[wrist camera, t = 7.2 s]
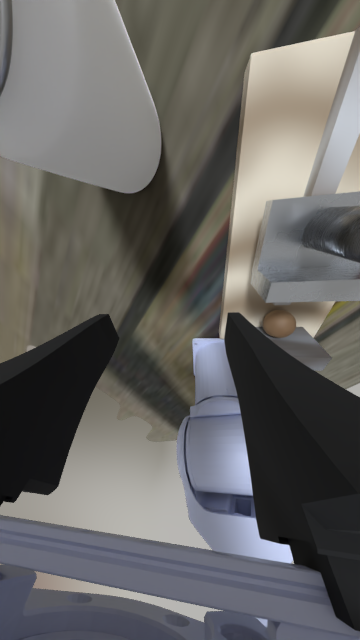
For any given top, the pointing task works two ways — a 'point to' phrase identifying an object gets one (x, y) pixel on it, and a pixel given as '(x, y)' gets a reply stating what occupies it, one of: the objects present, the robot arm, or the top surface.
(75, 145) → the can
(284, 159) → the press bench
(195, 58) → the top surface
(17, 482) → the robot arm
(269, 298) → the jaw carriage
